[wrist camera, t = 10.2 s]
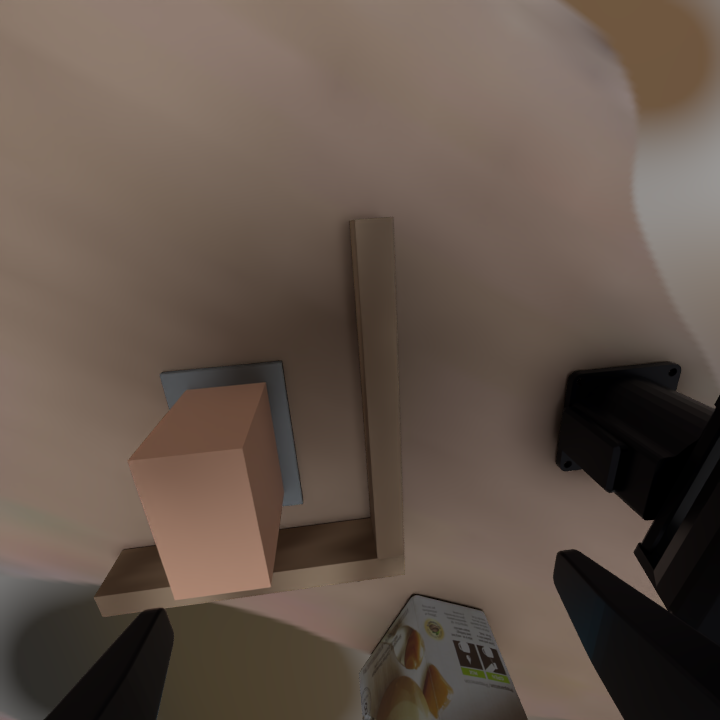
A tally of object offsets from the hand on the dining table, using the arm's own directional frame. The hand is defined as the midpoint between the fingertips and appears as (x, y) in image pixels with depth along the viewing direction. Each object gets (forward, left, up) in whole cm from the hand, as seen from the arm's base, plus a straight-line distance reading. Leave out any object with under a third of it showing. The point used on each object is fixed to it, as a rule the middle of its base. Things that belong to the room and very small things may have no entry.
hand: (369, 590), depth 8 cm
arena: (+6, +1, -12) cm, 13 cm away
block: (+6, +3, -12) cm, 13 cm away
